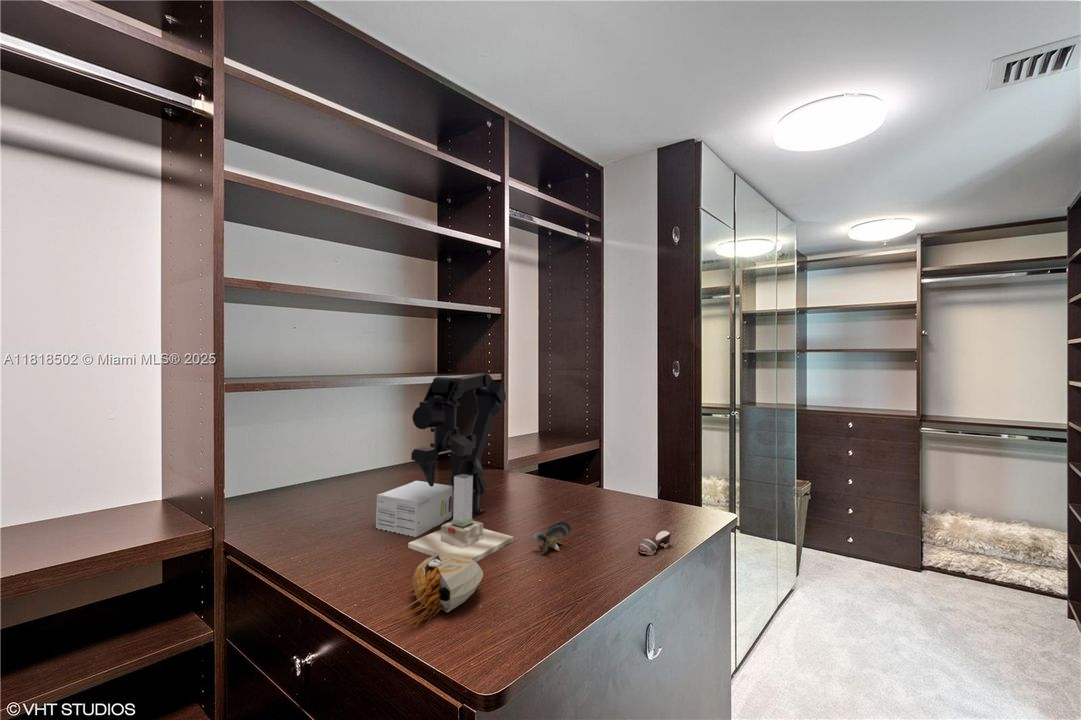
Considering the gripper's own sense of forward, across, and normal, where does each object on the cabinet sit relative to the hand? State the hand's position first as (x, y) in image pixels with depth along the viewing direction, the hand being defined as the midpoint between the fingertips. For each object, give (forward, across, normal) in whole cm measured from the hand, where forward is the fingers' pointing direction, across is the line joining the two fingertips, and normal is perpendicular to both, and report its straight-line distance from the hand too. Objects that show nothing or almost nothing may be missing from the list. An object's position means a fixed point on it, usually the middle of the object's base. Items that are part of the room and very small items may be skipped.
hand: (443, 482), depth 132 cm
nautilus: (+12, -30, -27) cm, 42 cm away
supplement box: (+12, -2, +8) cm, 15 cm away
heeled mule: (+12, +19, -52) cm, 56 cm away
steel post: (+7, -6, -12) cm, 15 cm away
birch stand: (+12, -6, -12) cm, 18 cm away
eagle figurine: (+12, +4, -31) cm, 34 cm away
